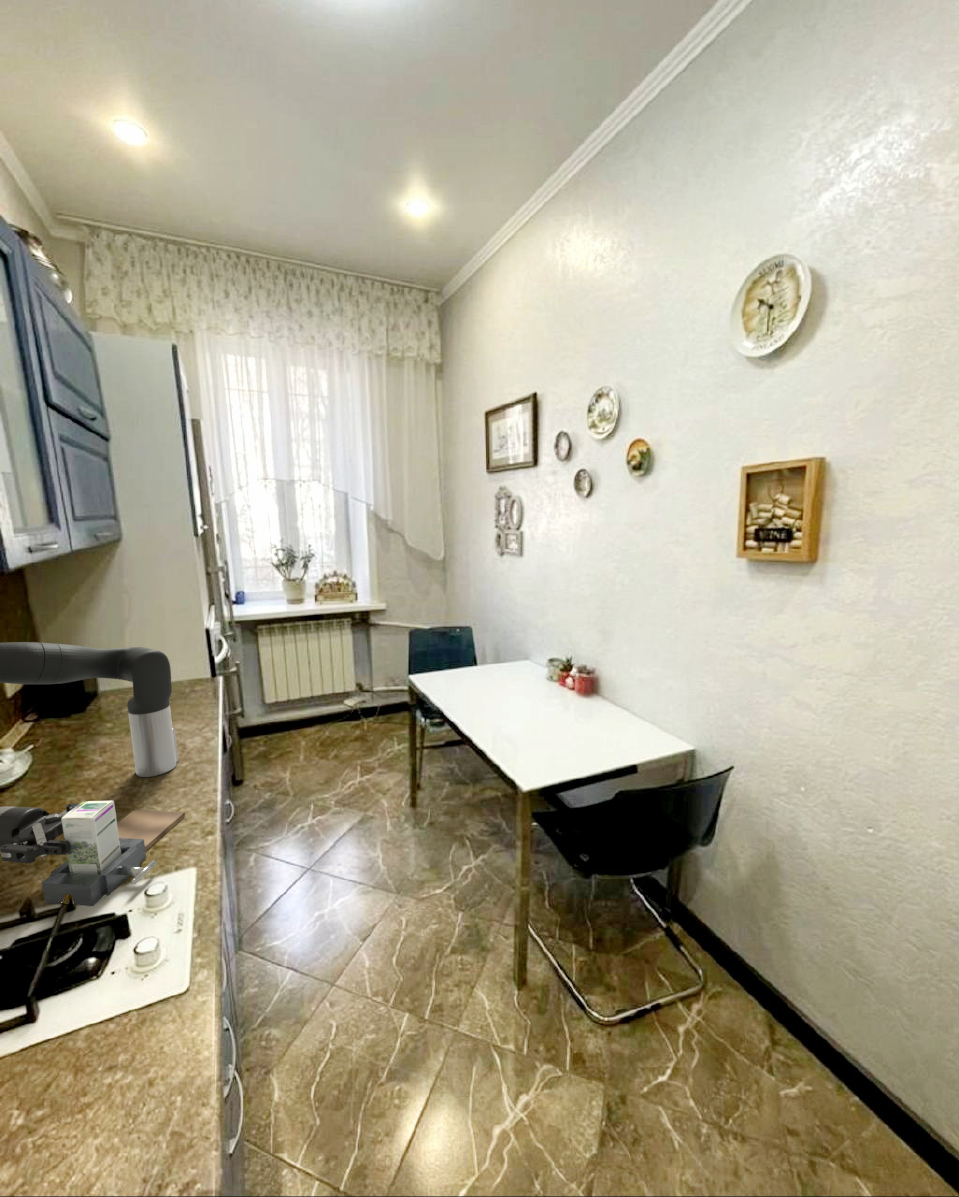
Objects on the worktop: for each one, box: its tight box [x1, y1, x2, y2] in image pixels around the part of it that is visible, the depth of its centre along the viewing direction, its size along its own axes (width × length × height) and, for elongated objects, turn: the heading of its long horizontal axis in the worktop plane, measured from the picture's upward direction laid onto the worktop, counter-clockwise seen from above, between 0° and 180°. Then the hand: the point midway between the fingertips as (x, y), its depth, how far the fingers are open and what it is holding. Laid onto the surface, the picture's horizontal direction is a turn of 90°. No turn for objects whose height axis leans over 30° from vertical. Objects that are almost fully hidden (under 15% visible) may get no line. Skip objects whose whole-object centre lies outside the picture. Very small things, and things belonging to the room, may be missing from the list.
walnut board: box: [117, 809, 186, 852], centre depth 107 cm, size 12×12×1 cm
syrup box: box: [61, 800, 121, 875], centre depth 91 cm, size 6×6×14 cm
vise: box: [41, 838, 157, 907], centre depth 92 cm, size 12×15×4 cm
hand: (89, 832), depth 91 cm, fingers open, 8 cm apart
